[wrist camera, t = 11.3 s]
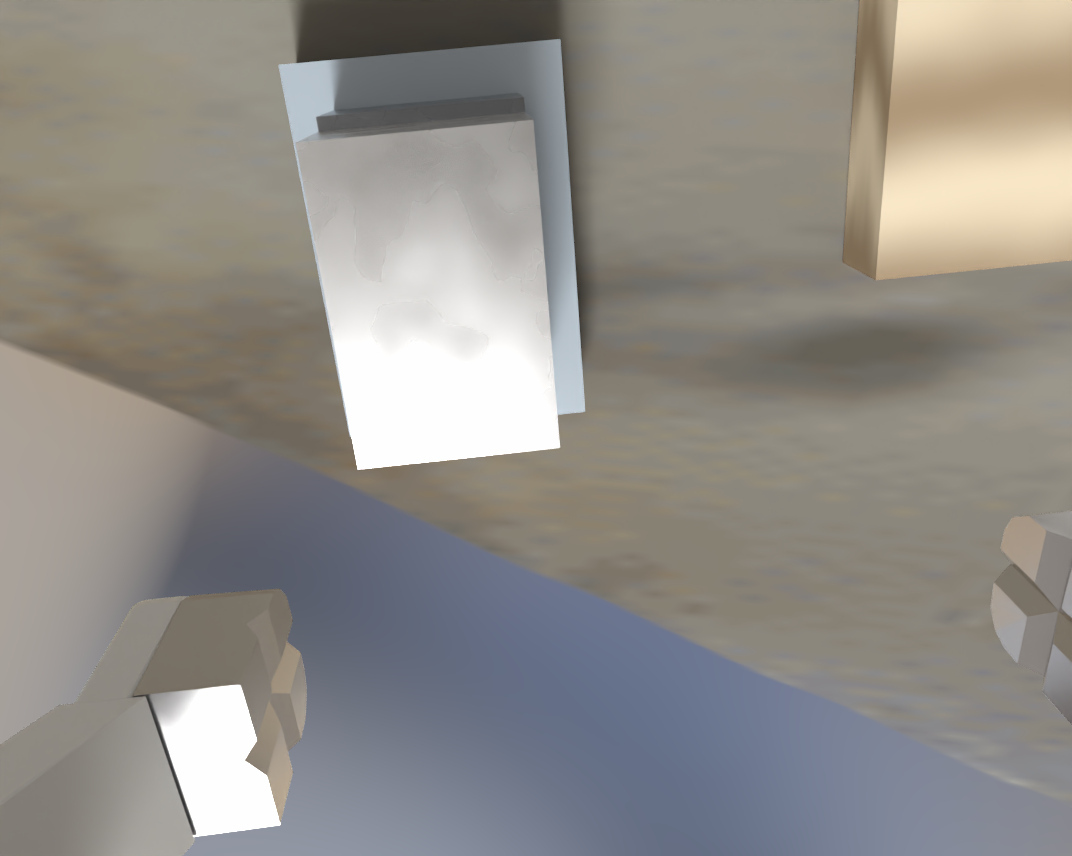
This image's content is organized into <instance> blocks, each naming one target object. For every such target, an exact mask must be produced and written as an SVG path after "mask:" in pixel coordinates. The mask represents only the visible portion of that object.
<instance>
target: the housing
mask: <svg viewBox="0 0 1072 856" xmlns="http://www.w3.org/2000/svg"><path fill="white" fill-rule="evenodd" d="M316 121H317V126H318V132H317V133H315V134H312V135H310V136H308V137H306V138H304V139H302V140H300V141H298V142H296V149H297V154H298V159H299V164H300V170H301V175H302V180H303V185H304V190H305V196H306V201H307V206H308V211H309V217H310V222H311V227H312V232H313V237H314V243H315V248H316V253H317V258H318V264H319V269H320V274H321V279H322V284H323V290H324V295H325V300H326V305H327V311H328V316H329V321H330V326H331V331H332V337H333V342H334V347H335V352H336V358H337V363H338V368H339V373H340V378H341V384H342V389H343V394H344V399H345V405H346V410H347V415H348V420H349V425H350V431H351V436H352V441H353V446H354V451H355V457H356V462H357V467H358V469H367V468H376V467H386V466H395V465H404V464H414V463H423V462H432V461H442V460H451V459H460V458H469V457H479V456H488V455H497V454H507V453H516V452H525V451H535V450H544V449H553V448H560V441H559V429H558V417H557V405H556V392H555V380H554V368H553V355H552V343H551V331H550V319H549V306H548V294H547V282H546V269H545V257H544V245H543V233H542V220H541V208H540V196H539V183H538V171H537V159H536V147H535V134H534V122H533V119H532V118H531V117H530V116H529V115H528V114H527V113H526V112H525V104H524V97H523V96H522V95H520V94H519V93H510V94H499V95H489V96H478V97H468V98H457V99H446V100H436V101H425V102H415V103H404V104H394V105H383V106H373V107H362V108H351V109H341V110H333V111H330V112H328V113H325V114H322V115H320V116H317V117H316Z"/></svg>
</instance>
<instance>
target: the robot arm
mask: <svg viewBox="0 0 1072 856" xmlns="http://www.w3.org/2000/svg"><path fill="white" fill-rule="evenodd" d="M1001 551H1002V552H1003V554H1004V555H1005V557H1006V558H1007V560H1008V561H1009V563H1010V565H1009V566H1008V567H1007V568H1006V570H1005V571H1004V572H1003V573H1002V574H1001V575H1000V576H999V577H998V578H997V579H996V581H995V582H994V586H993V593H992V600H991V612H992V617H993V622H994V627H995V631H996V633H997V635H998V637H999V639H1000V641H1001V643H1002V645H1003V647H1004V648H1005V649H1006V651H1007V652H1008V653H1009V654H1010V655H1011V657H1012V658H1013V659H1014V660H1015V661H1016V663H1017V664H1019V665H1021V666H1023V667H1025V668H1028V669H1030V670H1032V671H1034V672H1036V673H1038V674H1040V675H1042V676H1044V678H1043V690H1042V692H1043V693H1044V694H1045V696H1046V697H1047V698H1048V699H1049V700H1050V701H1051V702H1052V703H1053V705H1054V706H1055V707H1056V708H1057V709H1058V710H1059V711H1060V713H1061V714H1062V715H1063V716H1064V717H1065V718H1066V719H1067V720H1068V722H1069V723H1070V724H1071V725H1072V510H1069V511H1061V512H1052V513H1044V514H1035V515H1027V516H1018V517H1013V518H1012V519H1011V521H1010V522H1009V524H1008V525H1007V527H1006V528H1005V530H1004V535H1003V539H1002V544H1001ZM292 622H293V619H292V615H291V612H290V608H289V605H288V601H287V597H286V595H285V594H284V593H283V592H282V591H281V590H280V589H270V590H256V591H244V592H231V593H220V594H219V593H218V594H206V595H193V596H189V597H185V596H180V597H170V598H161V599H152V600H143V601H141V602H139V603H137V604H135V605H134V606H133V607H132V608H131V610H130V612H129V613H128V615H127V616H126V618H125V620H124V621H123V623H122V625H121V626H120V628H119V630H118V632H117V633H116V635H115V636H114V638H113V640H112V641H111V643H110V645H109V646H108V648H107V650H106V651H105V653H104V655H103V656H102V658H101V660H100V661H99V663H98V665H97V666H96V668H95V670H94V671H93V673H92V675H91V676H90V678H89V680H88V681H87V683H86V684H85V687H84V688H83V690H82V691H81V693H80V694H79V696H78V698H77V699H76V701H75V703H74V704H65V705H58V706H57V707H55V708H54V709H52V710H51V711H49V712H48V713H46V714H45V715H43V716H42V717H40V718H39V719H37V720H36V721H35V722H33V723H31V724H30V725H29V726H27V727H26V728H24V729H23V730H21V731H20V732H18V733H17V734H15V735H14V736H12V737H11V738H9V739H8V740H6V741H5V742H3V743H2V744H0V856H183V855H184V853H185V852H186V851H187V850H188V849H189V848H190V847H191V845H192V844H193V843H194V842H195V839H194V837H195V836H203V835H210V834H217V833H224V832H232V831H239V830H246V829H253V828H261V827H268V826H275V825H280V823H281V818H282V815H283V810H284V806H285V802H286V798H287V794H288V790H289V786H290V782H291V778H292V774H293V771H292V766H291V762H290V759H289V754H288V751H289V750H290V749H291V748H292V747H293V746H294V745H296V744H297V743H298V742H299V741H300V739H301V737H302V732H303V728H304V723H305V718H306V698H307V697H306V696H307V689H306V680H305V670H304V666H303V662H302V657H301V653H300V652H299V651H298V650H297V649H295V648H294V647H293V646H292V645H290V644H289V643H288V642H287V639H288V635H289V632H290V628H291V625H292Z"/></svg>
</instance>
